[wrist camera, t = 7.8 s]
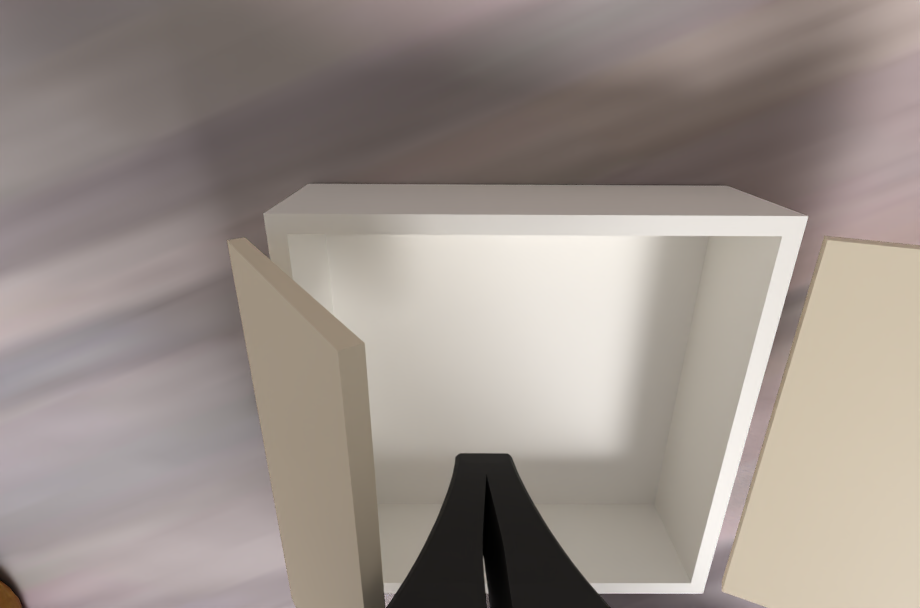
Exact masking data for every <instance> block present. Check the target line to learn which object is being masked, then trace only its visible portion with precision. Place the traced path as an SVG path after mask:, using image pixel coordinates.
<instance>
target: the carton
mask: <svg viewBox="0 0 920 608" xmlns="http://www.w3.org/2000/svg"><path fill="white" fill-rule="evenodd" d="M263 216H264V223H265V229H266V236H267V243H268V250H269V256H270V260H271V261H272V262H273V263H274V264H276V265H277V266H278V267H279V268H280V269H281V270H282V271H283V272H285V273H286V274H287V275H288V276H289V277H290V278H291V279H293V280H294V281H295V282H296V283H297V284H298V285H299V286H301V287H302V288H303V289H304V290H305V291H306V292H307V293H308V294H310V295H311V296H312V297H313V298H314V299H315V300H316V301H318V302H319V303H320V304H321V305H322V306H323V307H324V308H326V309H327V310H328V311H329V312H330V313H331V314H332V315H333V316H335V317H336V318H337V319H338V320H339V321H340V322H341V323H343V324H344V325H345V326H346V327H347V328H348V329H349V330H350V331H352V332H353V333H354V334H355V335H356V336H357V337H358V338H360V339H361V340H362V341H363V342H364V343H365V353H366V366H367V379H368V392H369V404H370V417H371V430H372V443H373V456H374V469H375V482H376V495H377V508H378V521H379V534H380V547H381V560H382V573H383V586H384V593H396V592H397V591H398V589H399V588H400V586H401V584H402V583H403V581H404V580H405V578H406V577H407V575H408V573H409V571H410V570H411V568H412V566H413V565H414V563H415V561H416V559H417V558H418V556H419V554H420V552H421V550H422V548H423V546H424V544H425V542H426V540H427V538H428V536H429V534H430V532H431V530H432V528H433V526H434V523H435V521H436V519H437V517H438V514H439V512H440V509H441V507H442V504H443V502H444V499H445V496H446V494H447V491H448V488H449V485H450V482H451V478H452V474H453V470H454V465H455V457H456V456H457V455H458V454H460V453H508V454H509V455H510V456H511V457H512V459H513V461H514V464H515V466H516V469H517V471H518V473H519V476H520V478H521V480H522V482H523V484H524V486H525V488H526V490H527V492H528V494H529V495H530V497H531V499H532V501H533V503H534V504H535V506H536V508H537V509H538V511H539V513H540V514H541V516H542V518H543V520H544V521H545V523H546V524H547V526H548V528H549V529H550V531H551V532H552V534H553V535H554V537H555V538H556V540H557V541H558V543H559V544H560V545H561V547H562V548H563V550H564V551H565V553H566V554H567V555H568V557H569V558H570V559H571V561H572V562H573V563H574V565H575V566H576V567H577V569H578V570H579V571H580V572H581V574H582V575H583V576H584V577H585V579H586V580H587V581H588V582H589V584H590V585H591V586H592V587H593V588H594V589H595V591H596V592H597V593H598V594H703V591H704V588H705V584H706V581H707V577H708V574H709V570H710V566H711V563H712V559H713V556H714V552H715V549H716V545H717V541H718V538H719V534H720V531H721V527H722V524H723V520H724V516H725V513H726V509H727V506H728V502H729V499H730V495H731V491H732V488H733V484H734V481H735V477H736V474H737V470H738V466H739V463H740V459H741V456H742V452H743V449H744V445H745V441H746V438H747V434H748V431H749V427H750V424H751V420H752V416H753V413H754V409H755V406H756V402H757V398H758V395H759V391H760V388H761V384H762V381H763V377H764V373H765V370H766V366H767V363H768V359H769V356H770V352H771V348H772V345H773V341H774V338H775V334H776V331H777V327H778V323H779V320H780V316H781V313H782V309H783V306H784V302H785V298H786V295H787V291H788V288H789V284H790V281H791V277H792V273H793V270H794V266H795V263H796V259H797V256H798V252H799V248H800V245H801V241H802V238H803V234H804V231H805V227H806V223H807V220H808V216H807V215H804V214H801V213H799V212H796V211H793V210H791V209H788V208H785V207H783V206H780V205H777V204H775V203H772V202H769V201H767V200H764V199H761V198H759V197H756V196H753V195H751V194H748V193H745V192H743V191H740V190H737V189H735V188H732V187H729V186H684V185H481V184H307V185H306V186H304V187H303V188H301V189H300V190H298V191H297V192H295V193H294V194H292V195H291V196H289V197H288V198H286V199H285V200H283V201H282V202H280V203H279V204H277V205H275V206H274V207H272V208H271V209H269V210H268V211H266V212H265V213H263ZM483 566H484V580H485V593H488V587H487V580H486V572H485V565H484V557H483Z"/></svg>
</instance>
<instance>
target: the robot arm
mask: <svg viewBox="0 0 920 608" xmlns="http://www.w3.org/2000/svg"><path fill="white" fill-rule="evenodd" d="M483 557H484V565H485V572H486V580H487V587H488V594H489V602H490V608H611V607H610V606H609V605H608V604H607V603H606V602H605V601H604V600H603V599H602V598H601V596H600V595H599V594H598V593H597V592H596V591H595V589H594V588H593V587H592V586H591V585H590V584H589V582H588V581H587V580H586V579H585V577H584V576H583V575H582V574H581V572H580V571H579V570H578V569H577V567H576V566H575V565H574V563H573V562H572V561H571V559H570V558H569V557H568V555H567V554H566V553H565V551H564V550H563V548H562V547H561V545H560V544H559V543H558V541H557V540H556V538H555V537H554V535H553V534H552V532H551V531H550V529H549V528H548V526H547V524H546V523H545V521H544V520H543V518H542V516H541V514H540V513H539V511H538V509H537V508H536V506H535V504H534V503H533V501H532V499H531V497H530V495H529V494H528V492H527V490H526V488H525V486H524V484H523V482H522V480H521V478H520V476H519V473H518V471H517V469H516V466H515V464H514V461H513V459H512V457H511V456H510V455H509V454H508V453H460V454H458V455H457V456H456V457H455V465H454V470H453V474H452V478H451V482H450V485H449V488H448V491H447V494H446V496H445V499H444V502H443V504H442V507H441V509H440V512H439V514H438V517H437V519H436V521H435V523H434V526H433V528H432V530H431V532H430V534H429V536H428V538H427V540H426V542H425V544H424V546H423V548H422V550H421V552H420V554H419V556H418V558H417V559H416V561H415V563H414V565H413V566H412V568H411V570H410V571H409V573H408V575H407V577H406V578H405V580H404V581H403V583H402V584H401V586H400V588H399V589H398V591H397V592H396V594H395V595H394V597H393V598H392V600H391V601H390V603H389V604H388V606H387V607H386V608H487V605H486V593H485V580H484V566H483Z"/></svg>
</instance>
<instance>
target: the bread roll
mask: <svg viewBox="0 0 920 608" xmlns="http://www.w3.org/2000/svg"><path fill="white" fill-rule="evenodd" d="M0 608H22V606H21V603H20V600H19V598H18V597H17V596H16V595H15V594H14V593H13V592H12V590H11V589H10V588H9V587H8V586H7V585H6V584H4V583H3V582H2V581H0Z"/></svg>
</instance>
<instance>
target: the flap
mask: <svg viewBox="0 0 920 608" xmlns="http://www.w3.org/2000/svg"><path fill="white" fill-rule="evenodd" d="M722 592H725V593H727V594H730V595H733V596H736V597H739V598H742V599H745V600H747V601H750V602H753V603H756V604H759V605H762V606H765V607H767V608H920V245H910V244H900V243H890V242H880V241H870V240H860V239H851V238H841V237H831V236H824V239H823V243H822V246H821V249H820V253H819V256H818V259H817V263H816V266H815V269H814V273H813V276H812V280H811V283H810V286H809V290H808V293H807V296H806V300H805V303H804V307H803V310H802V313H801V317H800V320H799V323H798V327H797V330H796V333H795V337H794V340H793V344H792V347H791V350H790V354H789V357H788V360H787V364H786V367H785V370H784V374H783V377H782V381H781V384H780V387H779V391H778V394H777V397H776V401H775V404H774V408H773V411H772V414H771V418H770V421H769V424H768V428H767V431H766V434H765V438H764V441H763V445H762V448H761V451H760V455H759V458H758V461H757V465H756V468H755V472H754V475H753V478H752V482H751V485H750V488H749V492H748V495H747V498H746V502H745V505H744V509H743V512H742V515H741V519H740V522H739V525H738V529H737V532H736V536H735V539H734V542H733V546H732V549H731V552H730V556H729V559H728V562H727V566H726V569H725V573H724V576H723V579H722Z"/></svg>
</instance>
